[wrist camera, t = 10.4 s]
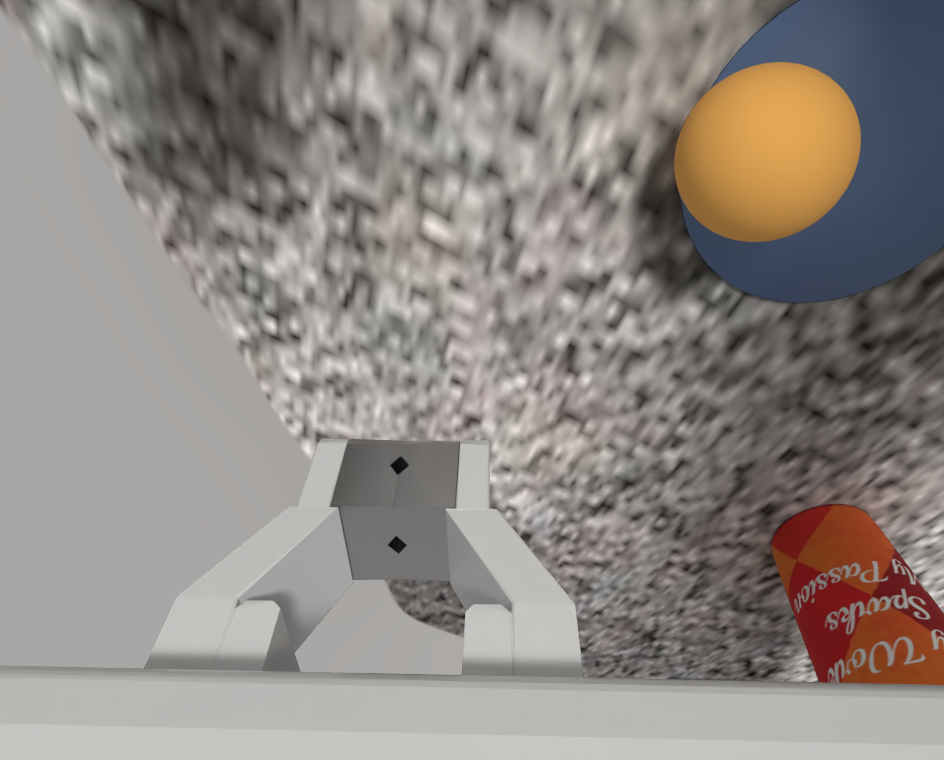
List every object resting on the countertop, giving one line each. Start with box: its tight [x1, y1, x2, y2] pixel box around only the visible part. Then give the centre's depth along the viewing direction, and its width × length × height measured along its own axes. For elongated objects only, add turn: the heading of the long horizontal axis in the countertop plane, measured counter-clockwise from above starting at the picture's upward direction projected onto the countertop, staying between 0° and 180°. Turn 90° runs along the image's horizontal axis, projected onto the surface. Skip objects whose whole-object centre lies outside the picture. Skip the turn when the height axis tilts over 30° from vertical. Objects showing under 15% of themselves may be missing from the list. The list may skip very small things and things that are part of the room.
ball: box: [674, 62, 861, 242], centre depth 23 cm, size 6×6×6 cm
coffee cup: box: [771, 504, 944, 685], centre depth 33 cm, size 8×8×15 cm
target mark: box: [681, 0, 944, 303], centre depth 26 cm, size 13×13×1 cm
